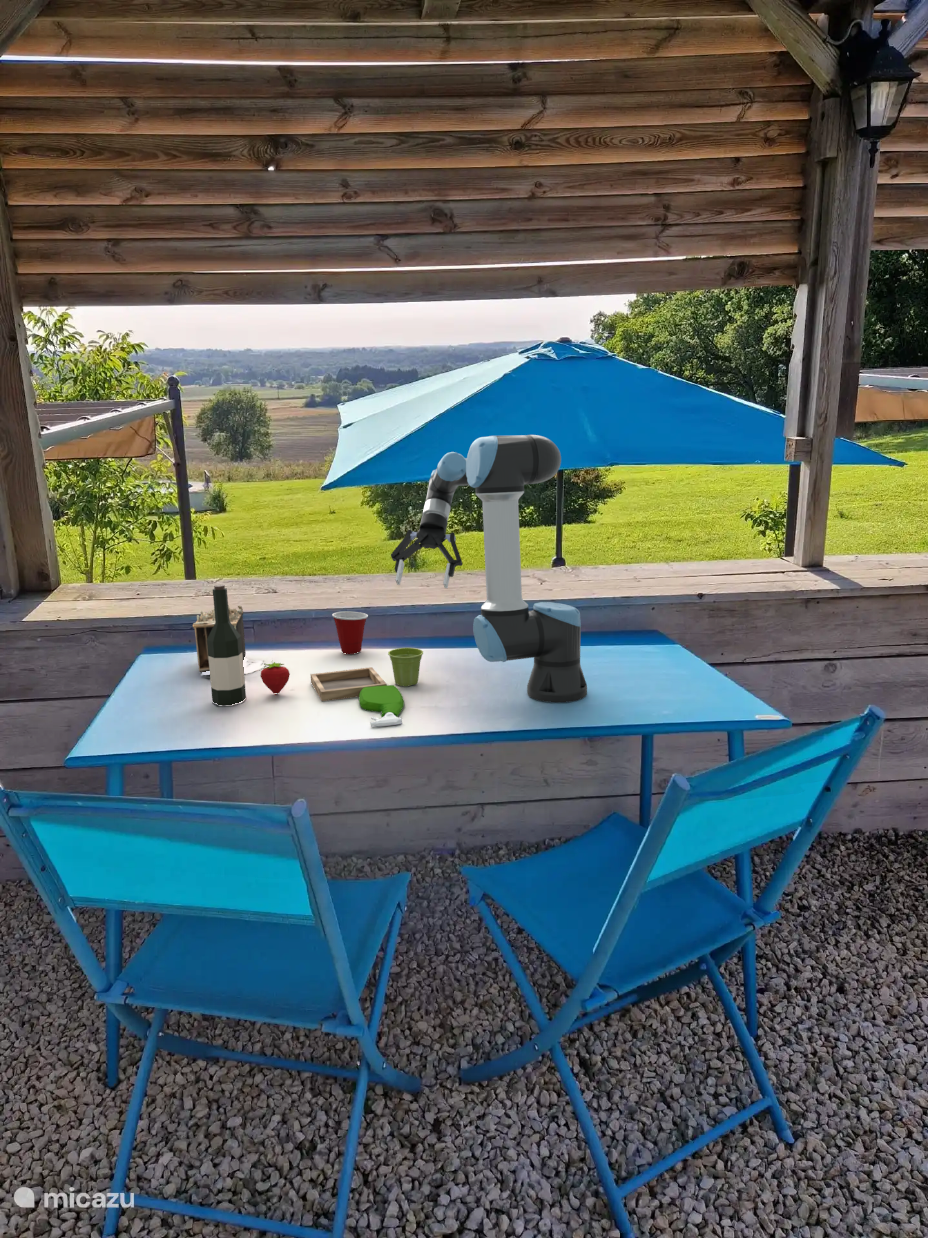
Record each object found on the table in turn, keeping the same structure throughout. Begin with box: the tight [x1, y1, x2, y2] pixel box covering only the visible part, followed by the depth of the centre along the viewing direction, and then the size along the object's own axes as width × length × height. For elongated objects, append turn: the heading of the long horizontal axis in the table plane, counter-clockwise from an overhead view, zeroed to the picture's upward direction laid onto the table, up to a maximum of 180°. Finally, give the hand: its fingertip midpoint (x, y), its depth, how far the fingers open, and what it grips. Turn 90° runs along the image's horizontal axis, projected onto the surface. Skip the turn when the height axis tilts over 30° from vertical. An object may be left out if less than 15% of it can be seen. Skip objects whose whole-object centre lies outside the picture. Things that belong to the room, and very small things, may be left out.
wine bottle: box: [207, 584, 247, 705], centre depth 223 cm, size 8×8×30 cm
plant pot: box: [387, 647, 424, 687], centre depth 237 cm, size 9×9×9 cm
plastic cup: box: [331, 611, 369, 655], centre depth 269 cm, size 11×11×12 cm
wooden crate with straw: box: [192, 604, 247, 673], centre depth 256 cm, size 25×25×19 cm
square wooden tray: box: [310, 666, 388, 702], centre depth 235 cm, size 17×17×2 cm
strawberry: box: [260, 661, 291, 694], centre depth 230 cm, size 6×8×10 cm
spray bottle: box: [358, 684, 405, 728], centre depth 217 cm, size 3×11×24 cm
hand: (421, 584), depth 244 cm, fingers open, 13 cm apart
